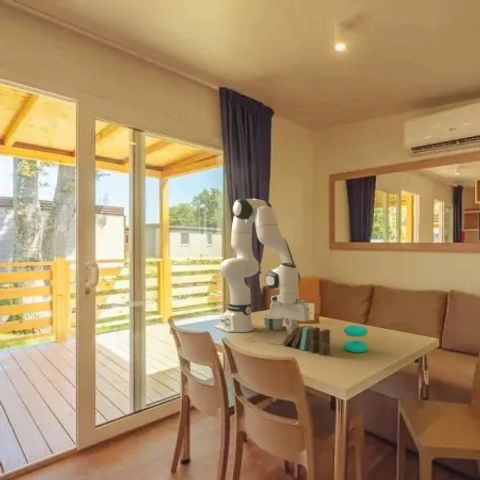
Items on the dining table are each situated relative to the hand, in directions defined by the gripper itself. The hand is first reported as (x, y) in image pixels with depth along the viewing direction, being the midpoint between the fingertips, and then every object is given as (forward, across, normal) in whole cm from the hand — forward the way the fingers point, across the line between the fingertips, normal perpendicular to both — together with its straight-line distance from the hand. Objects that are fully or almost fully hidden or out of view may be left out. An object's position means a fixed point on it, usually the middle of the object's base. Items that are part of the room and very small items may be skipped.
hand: (289, 328), depth 170 cm
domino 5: (+8, -18, 0) cm, 20 cm away
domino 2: (+7, -4, 0) cm, 8 cm away
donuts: (+8, -26, -14) cm, 30 cm away
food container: (+8, +26, -21) cm, 35 cm away
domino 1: (+7, +1, 0) cm, 7 cm away
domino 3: (+8, -8, 0) cm, 11 cm away
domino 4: (+8, -14, 0) cm, 16 cm away
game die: (+8, +8, -13) cm, 17 cm away
